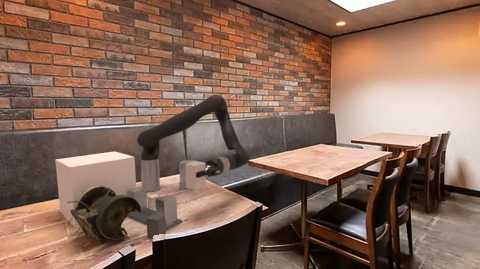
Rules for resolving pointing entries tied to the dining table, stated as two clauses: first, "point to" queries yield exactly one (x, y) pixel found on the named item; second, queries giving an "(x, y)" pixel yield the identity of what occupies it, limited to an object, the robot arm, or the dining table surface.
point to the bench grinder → (102, 213)
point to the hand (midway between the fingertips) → (191, 174)
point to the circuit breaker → (183, 174)
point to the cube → (93, 177)
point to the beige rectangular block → (152, 200)
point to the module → (191, 175)
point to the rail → (163, 207)
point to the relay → (155, 225)
